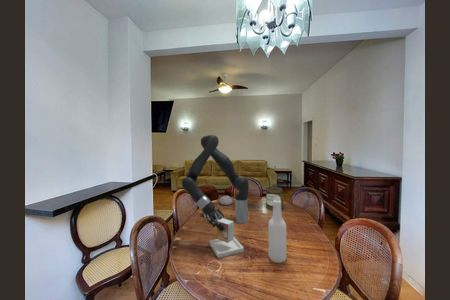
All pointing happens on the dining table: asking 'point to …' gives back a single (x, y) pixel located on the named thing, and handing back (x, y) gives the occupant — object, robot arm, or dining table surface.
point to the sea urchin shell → (225, 200)
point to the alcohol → (277, 234)
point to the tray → (226, 248)
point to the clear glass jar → (273, 196)
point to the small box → (226, 230)
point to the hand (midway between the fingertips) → (224, 227)
